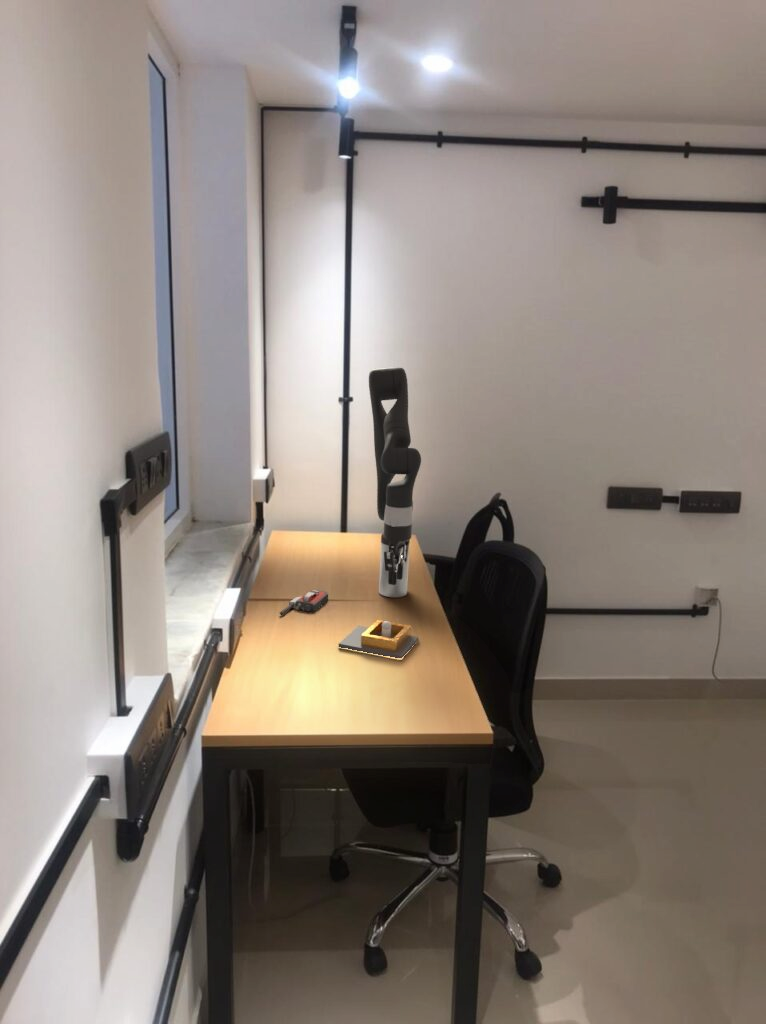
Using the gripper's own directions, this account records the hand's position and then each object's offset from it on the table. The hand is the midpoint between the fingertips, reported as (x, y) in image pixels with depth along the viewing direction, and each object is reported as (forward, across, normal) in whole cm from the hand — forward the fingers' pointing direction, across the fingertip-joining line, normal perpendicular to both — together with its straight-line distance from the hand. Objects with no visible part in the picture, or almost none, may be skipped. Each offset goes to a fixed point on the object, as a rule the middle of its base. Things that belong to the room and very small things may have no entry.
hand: (395, 581), depth 210 cm
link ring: (+16, +5, 0) cm, 16 cm away
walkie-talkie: (+18, -11, -33) cm, 39 cm away
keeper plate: (+17, +6, -2) cm, 18 cm away
